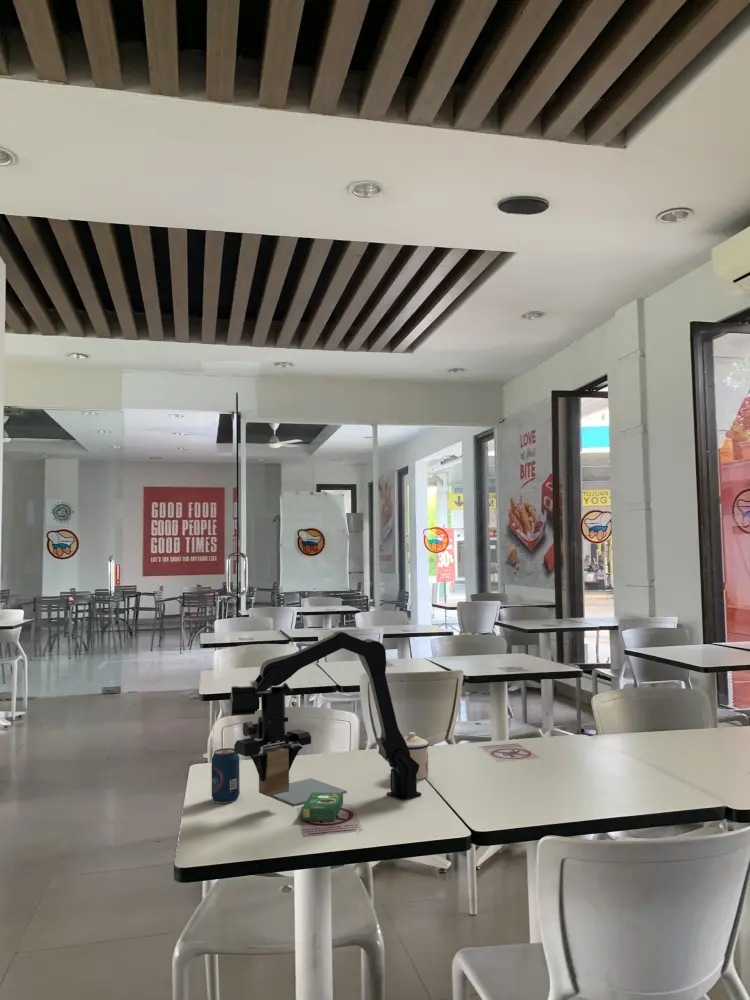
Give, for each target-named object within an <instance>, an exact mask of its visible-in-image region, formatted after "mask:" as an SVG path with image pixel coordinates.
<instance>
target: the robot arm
mask: <svg viewBox="0 0 750 1000" xmlns="http://www.w3.org/2000/svg"><path fill="white" fill-rule="evenodd" d="M340 650H347V651H349V652H351V653H353V654H357V656H358V659H359V660H360V663H361V665H362V667H363V668H364V670H365V672H366V674H367V676H368V680H369V683H370V687H371V691H372V692H371V693H372V697H373V700H374V704H375V708H376V714H377V717H378V721H379V726H380V732H381V733H380V737H377V738H375V741H376V744H377V746H378V754H379V755H380V756H381V757H382V758H383V760H384V761H386V762H387V763H388V765H389V767H390V776H389V777H390V782H389V783H390V791H388V792H386V796H389V797H392V798H395V799H398V800H401V801H405V800H409V799H413V798H416V797H419V796H422V792H420V791H417V789H418V788H417V787H418V786H417V782H418V781H417V780H416V774H417V773H418V770H419V764H418V763H417V762H416V761H415V760H414V759H412V758H411V757H410V751H409V749H408V747H407V744H406V742H405V740H404V737H403V735H402V733H401V731H400V729H399V727H398V721H397V719H396V718H397V717H396V714H395V709H394V705H393V701H392V696H391V692H390V689H389V684H388V680H387V675H386V672H387V671H386V670H387V669H386V668H387V652H386V651H387V650H386V647H385V645H384V644H383V643H381V642H380V641H377V640H375V639H373V638H372V639H371V638H365V639H363V640H362V639H359V638H358V637H355V636H352V635H349V634H348V633H346V632H344V631H340V630H338V631H337V630H336V631H335V632H334V633H333V634H331V635H329V636H327V637H324V638H323V639H320V640H318V641H317V642H314V643H312V644H309V645H308V646H305V647H303V648H302V649H299V650H298V651H295V652H294V653H290V654H286V655H280V656H277V657H273V658H270V659H267V660H265V661H263V662H262V664H261V665H260V668H259V674H258V676H257V677H256V678H255V680H254V681H253V683H252V685H249V686H248V685H247V686H246V685H245V686H237V685H235V686H231V687H230V688H231V689H230V690H231V691H230V699H229V713H230V716H231V717H235V716H247V715H248V716H250V715H255V714H256V712H258V711H259V710H260V708H261V710H260V711H261V714H260V715H261V716H258V718H257V723H254V722H253V721H245V722H243V723H242V734H243V736H244V737H250V738H242V739H239V740H238V739H237V740H236V742H235V743H234V746H233V747H234V748H233V749H234V753H237V754H238V755H239V756H243V757H250V758H251V760H252V762H253V764H254V765H255V769H256V771H257V774H258V778H259V777H260V780H261V781H262V782H264V781H265V774H266V760H267V754H265V753H263V749H267V748H272V747H277V746H282V747H285V748H288V749H289V771H290V769H291V768H292V765H293V763H294V761H295V759H296V757H297V755H298V754H299V751H300V750H302V749H303V746H306V745H311V744H312V734H311V733H310V732H309V731H307V730H303V729H299V728H297V729H293V730H292V729H291V730H287V731H286V723H287V722H289V717H288V716H286V695H289V694H290V695H291V694H294V690H293V689H292V688H290V687H289V684H288V683H286V681H287V680H289V679H290V678H291V677H292V676H294V675H295V674H296V673H297V672H298V671H299V670H301V669H302V668H304V667H306V666H309V665H311V664H313V663H315V662H316V661H319V660H321V659H323V658H325V657H327V656H329V655H331V654H333V653H335V652H337V651H340ZM280 685H281V686H280ZM268 689H269V690H268ZM260 696H261V697H260ZM260 698H261V699H260ZM260 700H261V701H260ZM260 702H261V706H260ZM256 739H257V740H256Z"/></svg>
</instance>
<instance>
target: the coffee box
mask: <svg viewBox="0 0 750 1000" xmlns="http://www.w3.org/2000/svg"><path fill="white" fill-rule="evenodd" d="M343 804H344V793H311V795H310V797H309V798H308V800H307V801H306V803H304V804H303V806H302V807H301V809H300V811H301V814H300V815H301V821H313V822H314V821H317V822H318V821H319V822H320V821H324V822H330V821H331V822H332V821H333V822H334V821H335V820H336V818H337V816H338V814H339V813H340V810H341V809H342V806H343Z"/></svg>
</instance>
